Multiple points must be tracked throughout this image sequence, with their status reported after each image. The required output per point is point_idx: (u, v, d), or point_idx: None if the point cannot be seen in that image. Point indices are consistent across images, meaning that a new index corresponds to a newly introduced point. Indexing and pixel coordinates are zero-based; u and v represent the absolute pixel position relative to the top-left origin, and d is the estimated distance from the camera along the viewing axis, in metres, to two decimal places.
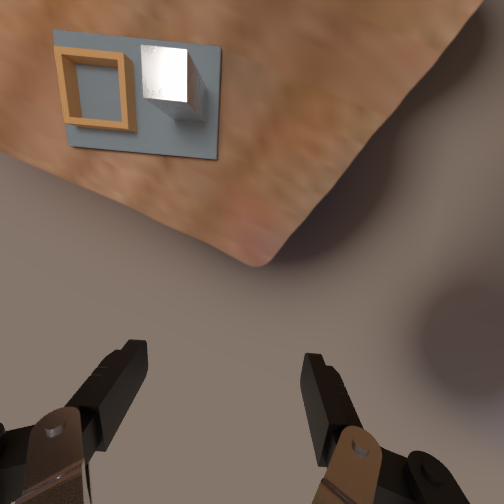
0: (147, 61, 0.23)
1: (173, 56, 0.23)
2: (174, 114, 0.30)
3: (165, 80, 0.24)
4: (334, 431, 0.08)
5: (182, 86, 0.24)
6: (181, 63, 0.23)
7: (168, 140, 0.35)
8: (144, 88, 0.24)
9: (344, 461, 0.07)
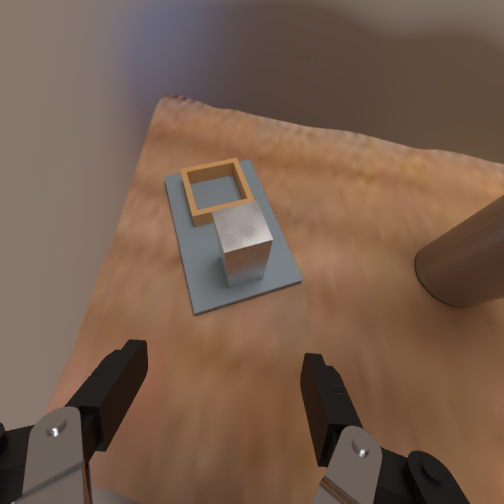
0: (246, 208, 0.22)
1: (261, 229, 0.21)
2: (220, 252, 0.27)
3: (236, 227, 0.21)
4: (334, 431, 0.08)
5: (237, 244, 0.21)
6: (258, 238, 0.21)
7: (197, 256, 0.31)
8: (220, 210, 0.22)
9: (344, 461, 0.07)
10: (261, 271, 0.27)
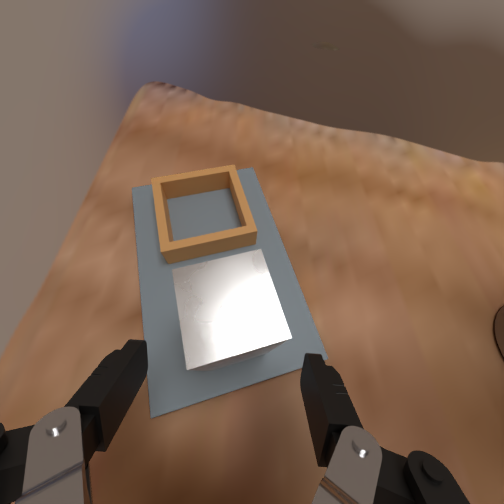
0: (240, 265, 0.12)
1: (267, 312, 0.11)
2: None
3: (217, 306, 0.11)
4: (334, 431, 0.08)
5: (217, 348, 0.10)
6: (261, 333, 0.10)
7: (166, 313, 0.20)
8: (189, 268, 0.11)
9: (344, 461, 0.07)
10: (263, 353, 0.17)
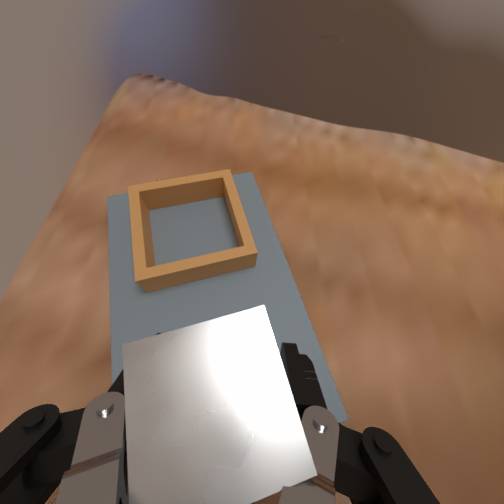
0: (231, 335, 0.07)
1: (275, 423, 0.06)
2: None
3: (193, 414, 0.06)
4: (299, 411, 0.09)
5: (189, 503, 0.06)
6: (266, 468, 0.06)
7: None
8: (151, 342, 0.07)
9: None
10: None
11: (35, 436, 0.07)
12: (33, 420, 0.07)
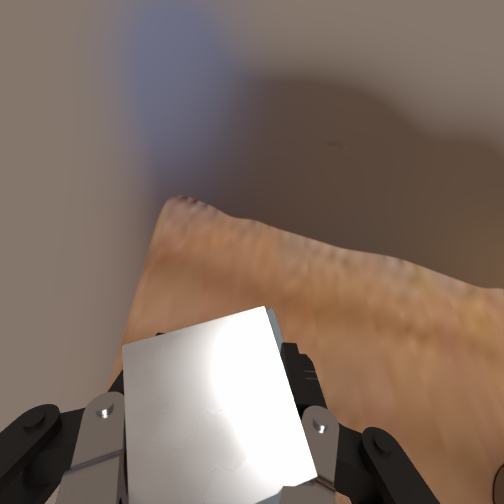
0: (231, 336, 0.07)
1: (275, 424, 0.06)
2: None
3: (193, 415, 0.06)
4: (299, 411, 0.09)
5: None
6: (266, 469, 0.06)
7: None
8: (151, 343, 0.07)
9: None
10: None
11: (35, 436, 0.07)
12: (33, 420, 0.07)
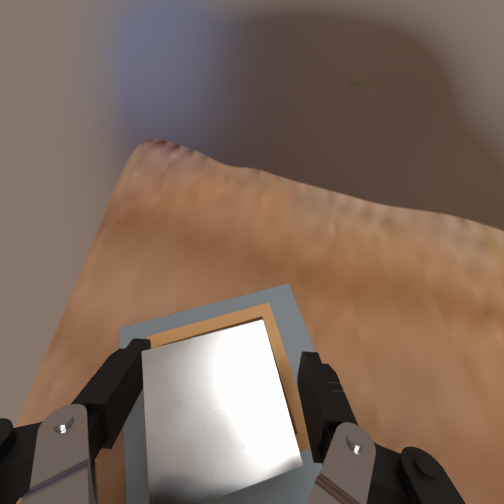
0: (234, 346, 0.09)
1: (269, 421, 0.08)
2: None
3: (200, 412, 0.08)
4: (329, 428, 0.08)
5: (197, 484, 0.07)
6: (260, 458, 0.07)
7: None
8: (166, 350, 0.08)
9: (338, 456, 0.07)
10: None
11: None
12: None
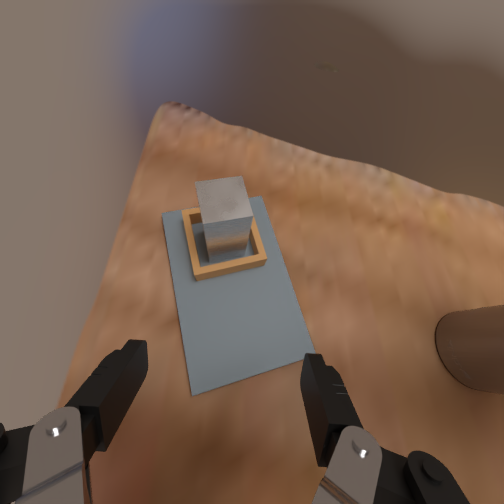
0: (230, 183, 0.22)
1: (242, 204, 0.21)
2: None
3: (218, 200, 0.21)
4: (334, 431, 0.08)
5: (217, 217, 0.21)
6: (239, 213, 0.21)
7: (198, 320, 0.27)
8: (204, 182, 0.22)
9: (344, 461, 0.07)
10: (242, 248, 0.28)
11: None
12: None
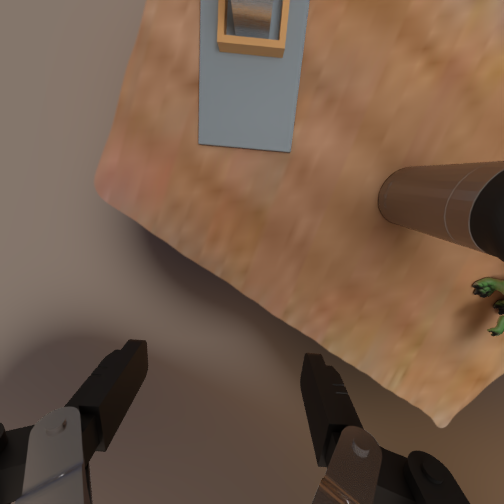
0: None
1: None
2: None
3: None
4: (334, 431, 0.08)
5: None
6: None
7: (213, 90, 0.33)
8: None
9: (344, 461, 0.07)
10: (266, 27, 0.29)
11: None
12: None
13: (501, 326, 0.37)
